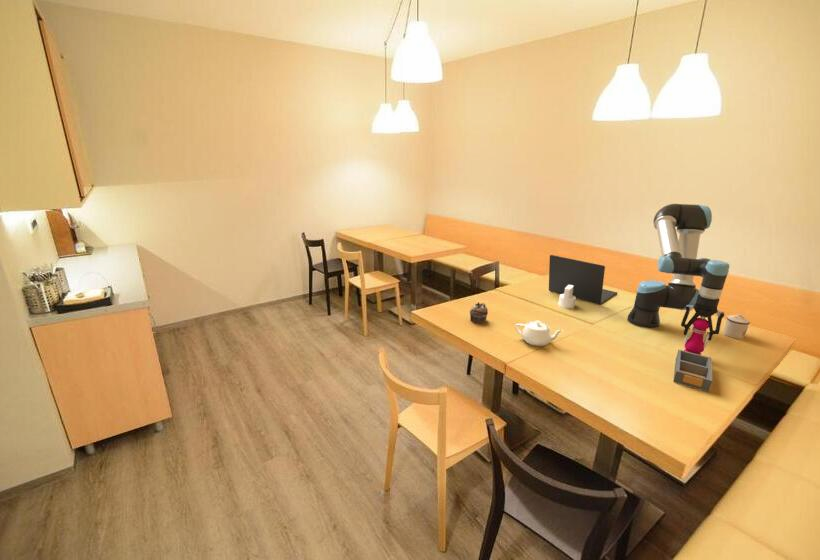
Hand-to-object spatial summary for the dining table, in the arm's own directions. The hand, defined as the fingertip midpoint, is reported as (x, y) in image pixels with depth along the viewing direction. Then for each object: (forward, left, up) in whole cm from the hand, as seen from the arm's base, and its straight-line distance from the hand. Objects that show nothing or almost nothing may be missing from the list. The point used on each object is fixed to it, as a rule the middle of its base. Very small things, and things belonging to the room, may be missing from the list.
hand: (694, 343), depth 170 cm
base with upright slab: (-62, +27, -6) cm, 68 cm away
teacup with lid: (+17, +41, -6) cm, 45 cm away
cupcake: (-95, -25, -6) cm, 98 cm away
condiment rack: (0, -19, -6) cm, 20 cm away
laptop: (-60, +55, -7) cm, 82 cm away
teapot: (-61, -30, -7) cm, 68 cm away
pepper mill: (0, 0, -6) cm, 6 cm away
